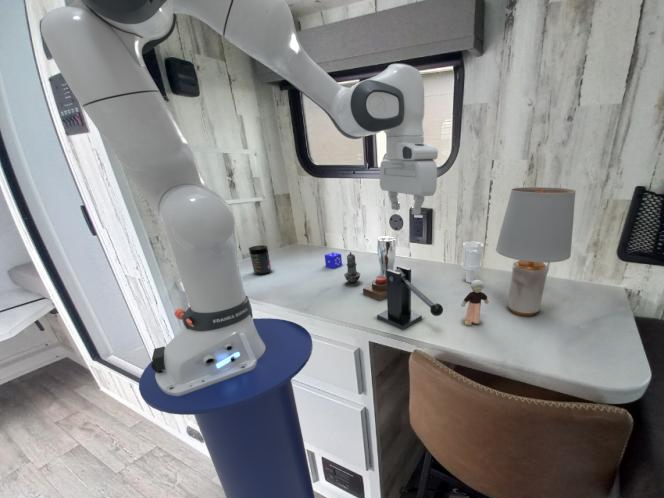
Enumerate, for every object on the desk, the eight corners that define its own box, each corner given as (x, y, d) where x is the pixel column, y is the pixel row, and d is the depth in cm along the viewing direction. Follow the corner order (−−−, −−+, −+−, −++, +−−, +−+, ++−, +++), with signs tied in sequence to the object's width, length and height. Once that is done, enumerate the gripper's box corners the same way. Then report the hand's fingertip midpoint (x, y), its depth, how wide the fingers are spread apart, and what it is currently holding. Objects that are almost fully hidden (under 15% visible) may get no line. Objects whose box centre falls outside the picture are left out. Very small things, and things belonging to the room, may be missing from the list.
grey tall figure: (352, 279, 116) (350, 248, 111) (364, 282, 113) (362, 251, 108) (341, 284, 112) (338, 252, 107) (353, 287, 109) (350, 255, 104)
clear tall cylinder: (467, 285, 109) (471, 244, 103) (456, 279, 115) (459, 239, 109) (483, 282, 112) (488, 242, 106) (471, 276, 118) (475, 237, 112)
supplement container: (269, 275, 121) (264, 249, 117) (252, 276, 121) (246, 250, 116) (274, 269, 128) (269, 245, 123) (257, 270, 127) (251, 245, 122)
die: (325, 266, 131) (324, 255, 128) (334, 263, 134) (333, 252, 132) (333, 268, 128) (332, 257, 126) (342, 265, 132) (341, 254, 130)
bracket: (421, 319, 87) (422, 269, 81) (403, 330, 82) (402, 278, 75) (395, 308, 93) (395, 262, 87) (377, 318, 88) (374, 269, 82)
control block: (379, 300, 99) (379, 289, 97) (363, 294, 104) (362, 283, 102) (400, 291, 105) (400, 280, 104) (383, 285, 110) (383, 275, 109)
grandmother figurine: (466, 328, 82) (470, 284, 77) (458, 322, 85) (461, 279, 80) (489, 322, 85) (494, 279, 80) (480, 316, 88) (485, 275, 83)
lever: (442, 315, 78) (447, 307, 76) (435, 320, 76) (440, 311, 74) (397, 275, 85) (401, 266, 83) (389, 278, 82) (392, 269, 80)
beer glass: (375, 275, 120) (374, 237, 113) (392, 273, 122) (391, 235, 116) (382, 281, 114) (380, 241, 108) (399, 278, 116) (398, 239, 110)
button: (381, 285, 101) (381, 280, 100) (374, 283, 103) (373, 278, 102) (389, 282, 103) (389, 277, 102) (381, 280, 105) (381, 275, 105)
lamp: (482, 296, 101) (495, 187, 86) (541, 297, 100) (563, 186, 86) (497, 325, 83) (516, 194, 69) (568, 326, 83) (602, 193, 68)
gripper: (372, 152, 78) (375, 208, 84) (418, 150, 62) (418, 219, 68) (393, 152, 81) (394, 206, 87) (443, 150, 65) (440, 216, 71)
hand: (405, 212), depth 77 cm, fingers open, 8 cm apart
